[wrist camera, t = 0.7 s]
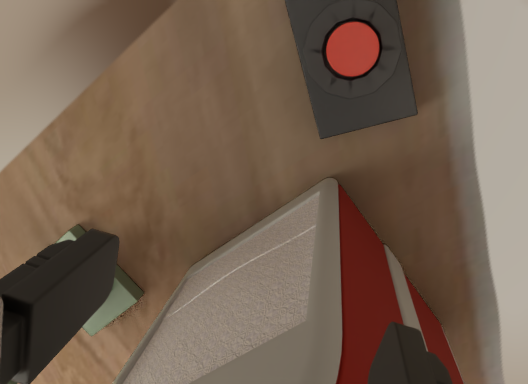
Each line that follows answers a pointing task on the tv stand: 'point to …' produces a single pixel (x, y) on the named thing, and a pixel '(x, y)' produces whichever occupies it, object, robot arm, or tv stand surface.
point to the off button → (352, 49)
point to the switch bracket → (118, 298)
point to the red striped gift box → (287, 304)
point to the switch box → (357, 87)
